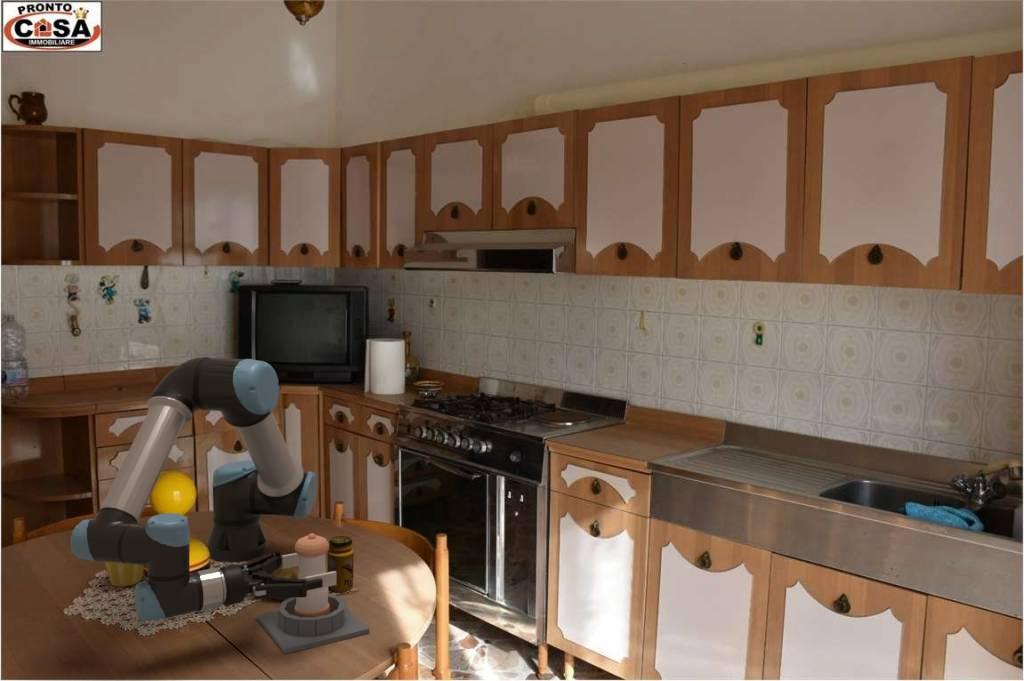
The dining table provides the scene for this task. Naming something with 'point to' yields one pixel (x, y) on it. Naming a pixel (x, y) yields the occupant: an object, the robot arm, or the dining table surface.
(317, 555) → the salt shaker
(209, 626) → the dining table surface
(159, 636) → the dining table surface
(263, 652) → the dining table surface
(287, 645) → the collar stand
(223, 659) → the dining table surface
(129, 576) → the plant pot
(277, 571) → the potato
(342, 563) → the condiment
